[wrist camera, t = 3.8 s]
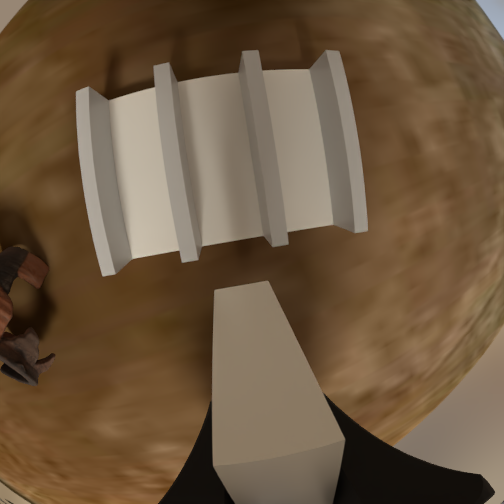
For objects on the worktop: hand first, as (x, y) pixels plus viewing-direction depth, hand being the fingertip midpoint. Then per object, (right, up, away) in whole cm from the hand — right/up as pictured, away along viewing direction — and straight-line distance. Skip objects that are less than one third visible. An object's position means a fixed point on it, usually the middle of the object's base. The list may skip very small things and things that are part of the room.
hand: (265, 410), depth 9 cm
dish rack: (-2, +11, +7) cm, 14 cm away
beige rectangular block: (0, +1, +4) cm, 4 cm away
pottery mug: (-20, +2, +8) cm, 21 cm away
